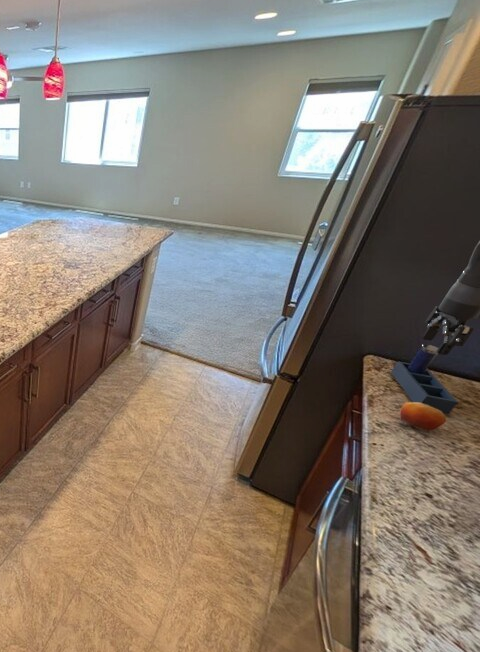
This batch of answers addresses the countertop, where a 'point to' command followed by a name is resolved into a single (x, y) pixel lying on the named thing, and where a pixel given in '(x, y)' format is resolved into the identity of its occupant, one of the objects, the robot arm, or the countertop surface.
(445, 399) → the rack
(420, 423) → the fruit
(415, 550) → the countertop surface
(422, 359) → the thermos
